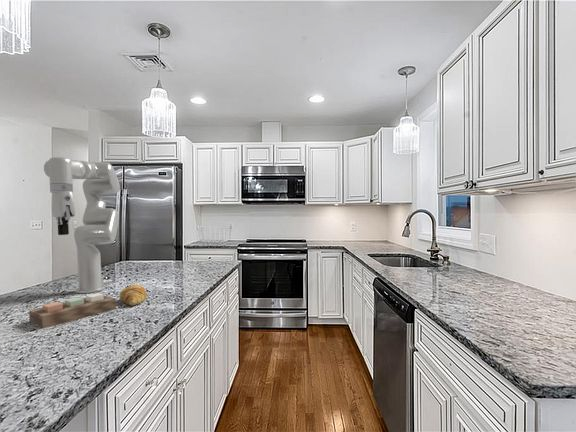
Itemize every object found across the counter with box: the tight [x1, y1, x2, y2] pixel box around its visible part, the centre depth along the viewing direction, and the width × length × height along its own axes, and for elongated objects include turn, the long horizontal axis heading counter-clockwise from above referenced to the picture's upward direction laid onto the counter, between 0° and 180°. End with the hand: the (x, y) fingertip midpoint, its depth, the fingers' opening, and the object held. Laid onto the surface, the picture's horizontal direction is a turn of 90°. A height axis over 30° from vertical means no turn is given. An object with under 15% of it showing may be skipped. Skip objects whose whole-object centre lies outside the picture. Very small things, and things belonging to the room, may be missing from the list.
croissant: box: [119, 283, 147, 307], centre depth 138 cm, size 21×10×8 cm, turn 26°
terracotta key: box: [42, 301, 63, 313], centre depth 115 cm, size 4×4×4 cm
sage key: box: [64, 297, 84, 307], centre depth 121 cm, size 4×4×4 cm
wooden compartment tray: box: [28, 295, 117, 329], centre depth 121 cm, size 24×12×4 cm, turn 145°
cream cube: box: [85, 292, 105, 302], centre depth 127 cm, size 4×4×4 cm
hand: (63, 234), depth 131 cm, fingers closed
